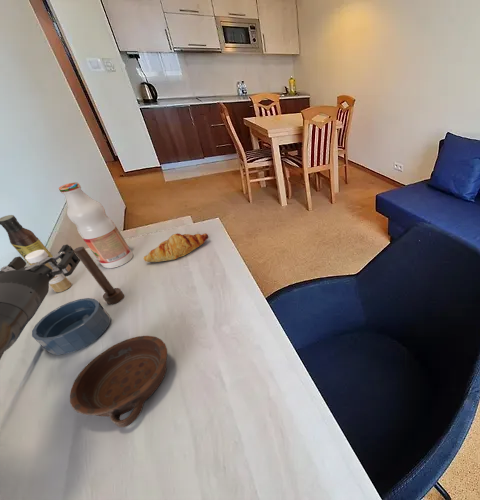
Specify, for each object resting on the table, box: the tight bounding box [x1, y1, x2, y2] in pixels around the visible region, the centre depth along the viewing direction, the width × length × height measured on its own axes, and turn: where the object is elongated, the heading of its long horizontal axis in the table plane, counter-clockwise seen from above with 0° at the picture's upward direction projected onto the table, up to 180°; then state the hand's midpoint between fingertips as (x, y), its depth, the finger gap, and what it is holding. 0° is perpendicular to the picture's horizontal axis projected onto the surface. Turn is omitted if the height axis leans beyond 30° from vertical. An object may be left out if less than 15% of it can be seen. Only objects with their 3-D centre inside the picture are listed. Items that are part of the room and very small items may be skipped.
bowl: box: [31, 297, 111, 356], centre depth 76 cm, size 14×14×6 cm
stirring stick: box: [73, 246, 125, 305], centre depth 83 cm, size 4×4×18 cm
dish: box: [69, 335, 168, 428], centre depth 63 cm, size 18×22×5 cm
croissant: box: [143, 232, 209, 263], centre depth 104 cm, size 21×10×8 cm, turn 125°
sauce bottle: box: [0, 214, 54, 266], centre depth 100 cm, size 6×6×20 cm
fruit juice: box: [58, 181, 134, 269], centre depth 97 cm, size 9×9×28 cm
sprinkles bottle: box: [24, 250, 73, 293], centre depth 91 cm, size 5×5×13 cm
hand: (45, 254), depth 65 cm, fingers open, 8 cm apart
